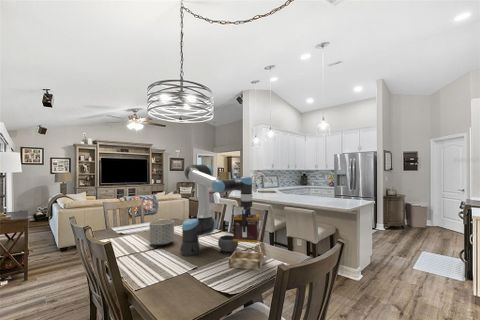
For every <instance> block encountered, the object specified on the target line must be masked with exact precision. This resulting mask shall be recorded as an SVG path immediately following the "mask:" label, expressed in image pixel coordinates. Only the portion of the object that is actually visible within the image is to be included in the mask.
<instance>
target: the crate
mask: <svg viewBox="0 0 480 320" xmlns="http://www.w3.org/2000/svg"><path fill="white" fill-rule="evenodd" d="M264 262H265V253H264V252H254V251H243V250H241V251H240V250H234V251H233V253H232V254H231V255H230V256H229V257H228V268H236V269H237V268H238V269H244V268H245V269H244V270H253V269H254V271H261V269H262V266H263V264H264Z"/></svg>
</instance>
